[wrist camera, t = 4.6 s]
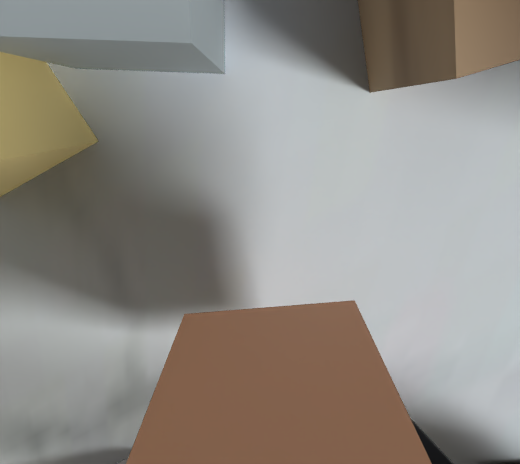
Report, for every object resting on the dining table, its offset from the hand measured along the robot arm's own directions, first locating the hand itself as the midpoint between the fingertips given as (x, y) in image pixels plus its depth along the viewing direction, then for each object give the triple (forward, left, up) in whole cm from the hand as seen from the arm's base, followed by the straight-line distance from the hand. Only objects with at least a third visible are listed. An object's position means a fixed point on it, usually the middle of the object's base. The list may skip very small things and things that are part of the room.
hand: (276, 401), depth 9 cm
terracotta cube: (0, 0, -1) cm, 1 cm away
